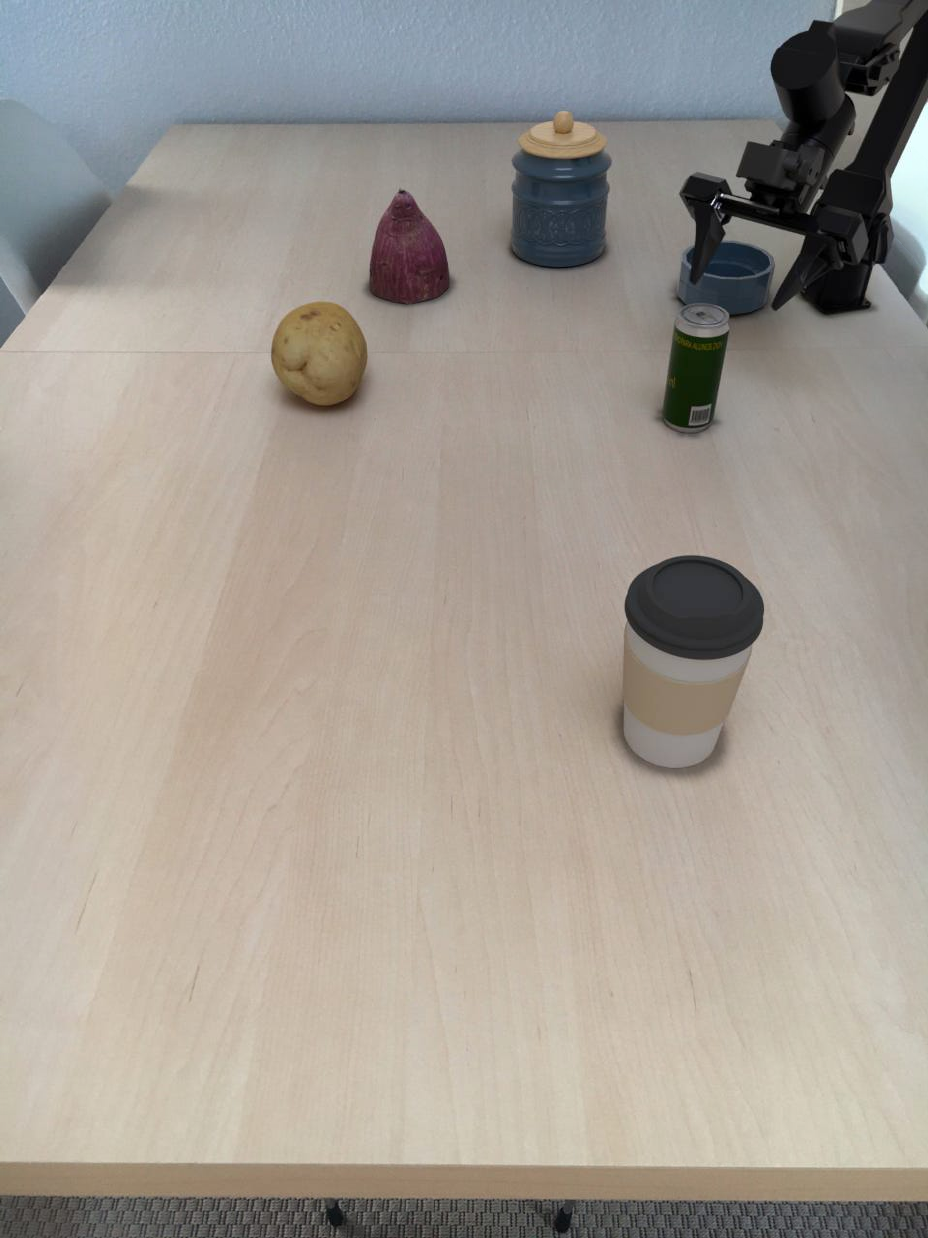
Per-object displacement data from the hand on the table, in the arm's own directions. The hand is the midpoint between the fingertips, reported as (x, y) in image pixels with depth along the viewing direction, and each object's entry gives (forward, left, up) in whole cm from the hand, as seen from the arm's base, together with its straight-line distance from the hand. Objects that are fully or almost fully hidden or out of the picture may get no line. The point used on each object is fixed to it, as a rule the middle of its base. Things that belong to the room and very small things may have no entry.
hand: (731, 295), depth 100 cm
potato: (+41, -14, -12) cm, 44 cm away
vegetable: (+26, -37, -12) cm, 46 cm away
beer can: (+5, +3, -12) cm, 13 cm away
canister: (+4, -42, -12) cm, 44 cm away
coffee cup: (+24, +42, -12) cm, 50 cm away
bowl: (-11, -22, -12) cm, 27 cm away
